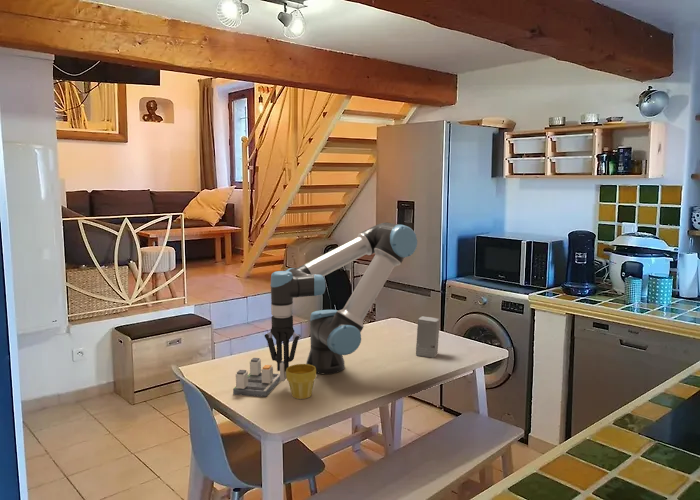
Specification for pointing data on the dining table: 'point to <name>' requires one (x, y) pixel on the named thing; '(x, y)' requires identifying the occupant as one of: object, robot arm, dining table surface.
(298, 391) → the plant pot
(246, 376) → the breaker
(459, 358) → the dining table surface
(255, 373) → the block
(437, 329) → the skincare box
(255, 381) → the panel
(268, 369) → the block
